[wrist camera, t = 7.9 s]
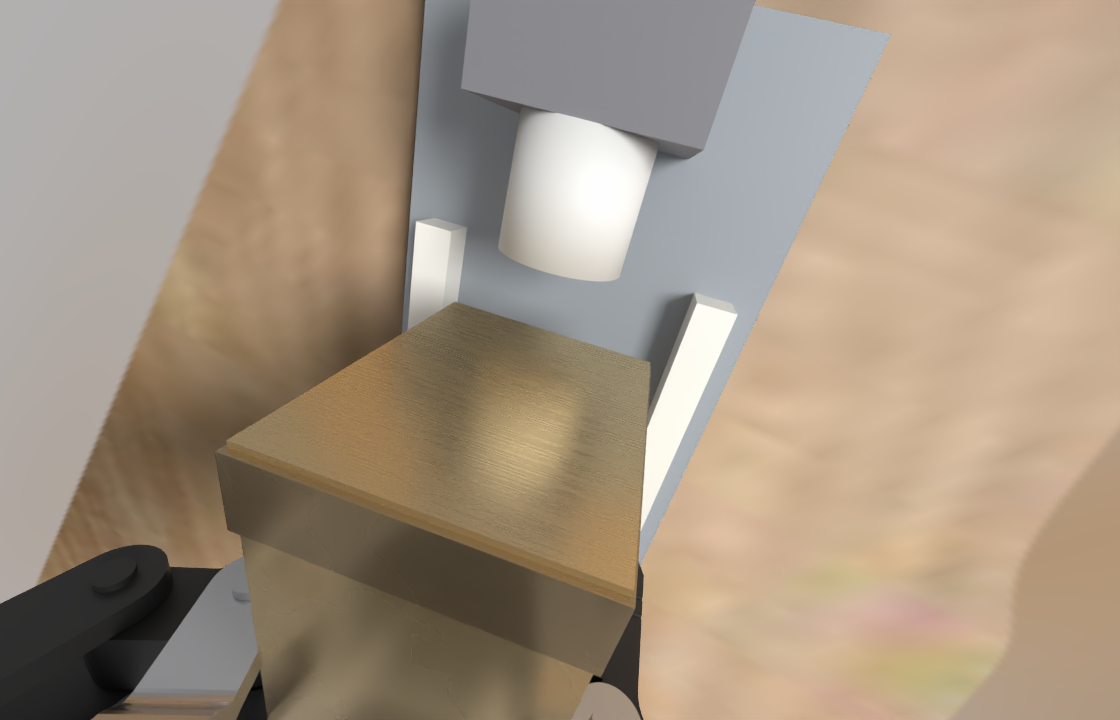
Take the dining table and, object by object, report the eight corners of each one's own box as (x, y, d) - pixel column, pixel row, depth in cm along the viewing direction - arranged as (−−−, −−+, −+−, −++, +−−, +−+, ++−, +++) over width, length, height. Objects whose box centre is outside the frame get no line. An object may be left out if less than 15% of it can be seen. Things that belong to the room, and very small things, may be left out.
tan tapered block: (452, 300, 9) (213, 444, 4) (652, 363, 9) (637, 602, 4) (416, 585, 14) (275, 818, 9) (549, 636, 13) (480, 914, 8)
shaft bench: (588, 659, 20) (566, 802, 15) (394, 584, 21) (319, 697, 16) (869, 47, 9) (1064, -73, 5) (450, -44, 10) (284, -215, 6)
